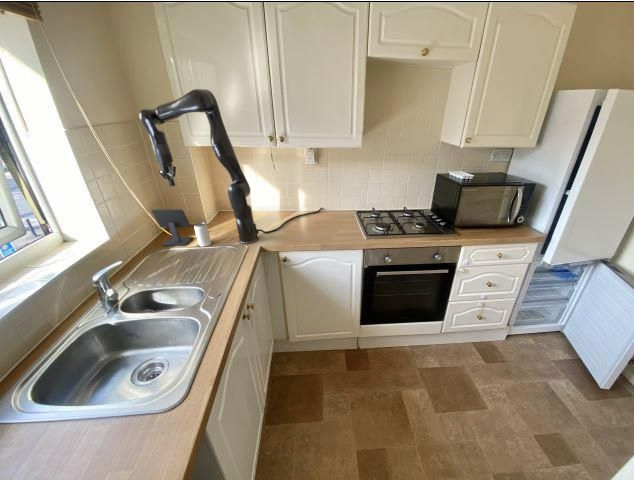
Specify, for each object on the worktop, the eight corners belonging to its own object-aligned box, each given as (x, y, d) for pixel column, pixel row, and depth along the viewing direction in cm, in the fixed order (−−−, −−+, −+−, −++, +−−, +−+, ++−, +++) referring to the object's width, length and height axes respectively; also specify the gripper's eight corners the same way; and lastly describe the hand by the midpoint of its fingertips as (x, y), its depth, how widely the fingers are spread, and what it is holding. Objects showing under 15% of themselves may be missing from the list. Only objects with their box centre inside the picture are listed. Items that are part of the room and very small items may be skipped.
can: (199, 242, 158) (193, 223, 152) (212, 241, 160) (206, 221, 154) (198, 247, 153) (192, 227, 147) (211, 245, 155) (206, 225, 149)
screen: (161, 225, 157) (152, 209, 149) (190, 225, 157) (182, 209, 149) (160, 227, 156) (150, 210, 148) (189, 226, 156) (181, 210, 148)
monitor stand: (172, 238, 163) (166, 219, 157) (193, 238, 164) (187, 218, 158) (163, 246, 155) (156, 225, 149) (185, 245, 155) (178, 225, 149)
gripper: (162, 154, 140) (173, 189, 149) (176, 150, 152) (185, 183, 160) (147, 154, 140) (159, 189, 149) (162, 150, 152) (172, 183, 160)
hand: (172, 186), depth 154 cm, fingers closed
